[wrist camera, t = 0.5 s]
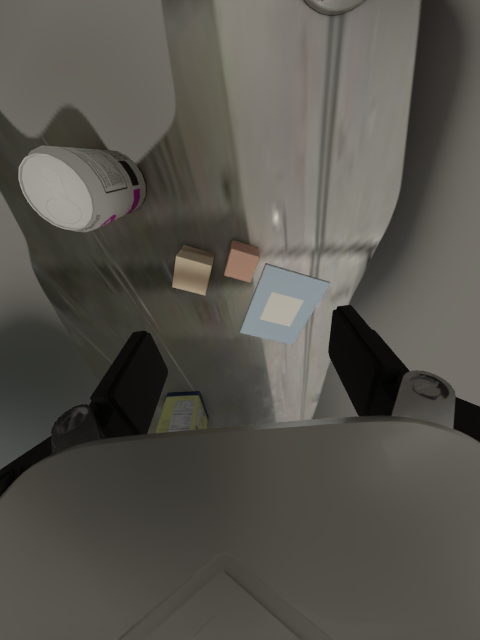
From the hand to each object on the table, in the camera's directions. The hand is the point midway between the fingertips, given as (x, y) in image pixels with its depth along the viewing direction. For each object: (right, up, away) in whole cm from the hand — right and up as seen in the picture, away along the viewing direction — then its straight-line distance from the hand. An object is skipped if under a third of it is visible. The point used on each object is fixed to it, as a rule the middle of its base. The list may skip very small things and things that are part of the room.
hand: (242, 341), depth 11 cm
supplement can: (-19, +23, +24) cm, 38 cm away
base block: (-9, +12, +32) cm, 35 cm away
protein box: (-17, -27, +61) cm, 69 cm away
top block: (0, +14, +31) cm, 33 cm away
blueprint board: (+9, +4, +38) cm, 39 cm away
